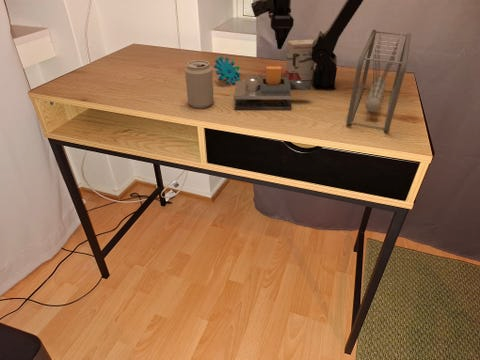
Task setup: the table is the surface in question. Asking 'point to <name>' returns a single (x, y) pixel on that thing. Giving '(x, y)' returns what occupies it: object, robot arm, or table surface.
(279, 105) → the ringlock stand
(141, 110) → the table surface
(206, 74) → the can
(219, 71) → the gear
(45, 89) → the table surface
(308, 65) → the ink box
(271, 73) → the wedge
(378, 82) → the newton's cradle
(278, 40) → the robot arm
